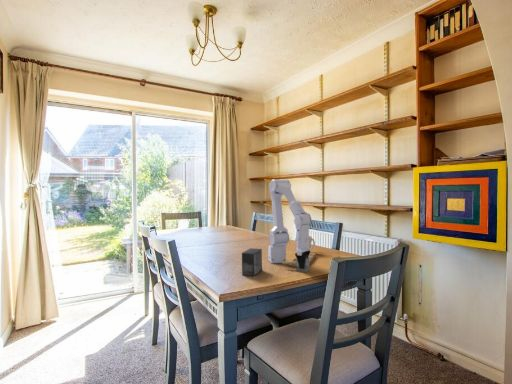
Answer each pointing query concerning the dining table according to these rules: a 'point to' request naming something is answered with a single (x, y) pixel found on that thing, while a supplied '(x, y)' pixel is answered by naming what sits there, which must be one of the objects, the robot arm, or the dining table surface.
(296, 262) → the gauge
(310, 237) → the mug
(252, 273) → the small box
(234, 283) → the dining table surface
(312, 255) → the board
